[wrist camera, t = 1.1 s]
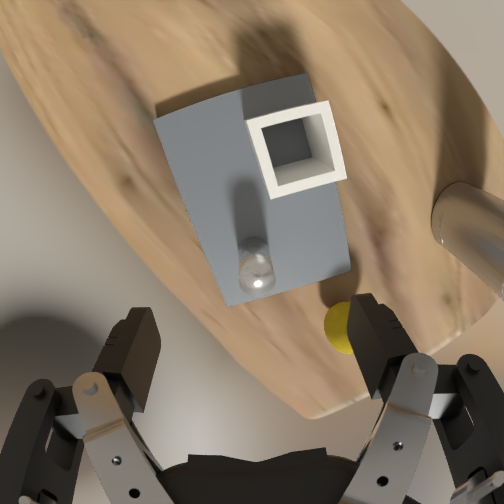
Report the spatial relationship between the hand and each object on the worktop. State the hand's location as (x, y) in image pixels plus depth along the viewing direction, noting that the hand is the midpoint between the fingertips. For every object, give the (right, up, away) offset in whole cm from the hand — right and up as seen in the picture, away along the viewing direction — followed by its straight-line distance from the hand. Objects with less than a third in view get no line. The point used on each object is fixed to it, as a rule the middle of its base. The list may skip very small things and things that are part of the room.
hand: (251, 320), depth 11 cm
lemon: (+11, -4, +25) cm, 28 cm away
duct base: (+1, +8, +18) cm, 20 cm away
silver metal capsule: (0, +3, +19) cm, 20 cm away
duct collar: (+3, +13, +14) cm, 20 cm away
